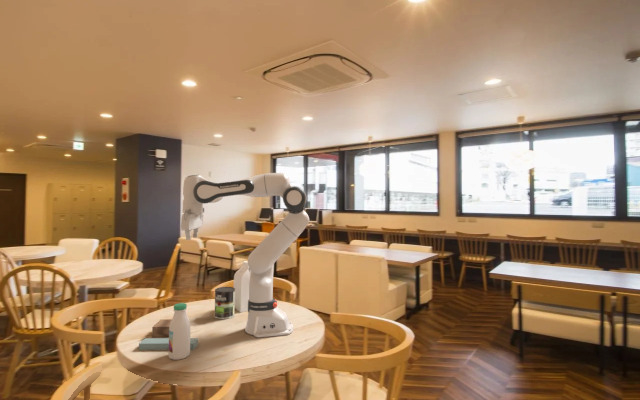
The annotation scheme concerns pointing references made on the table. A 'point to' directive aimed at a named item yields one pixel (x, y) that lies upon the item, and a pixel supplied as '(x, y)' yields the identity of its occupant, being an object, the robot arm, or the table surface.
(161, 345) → the board
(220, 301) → the coffee can
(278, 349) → the table surface
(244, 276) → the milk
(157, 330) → the block
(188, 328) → the milk bottle
